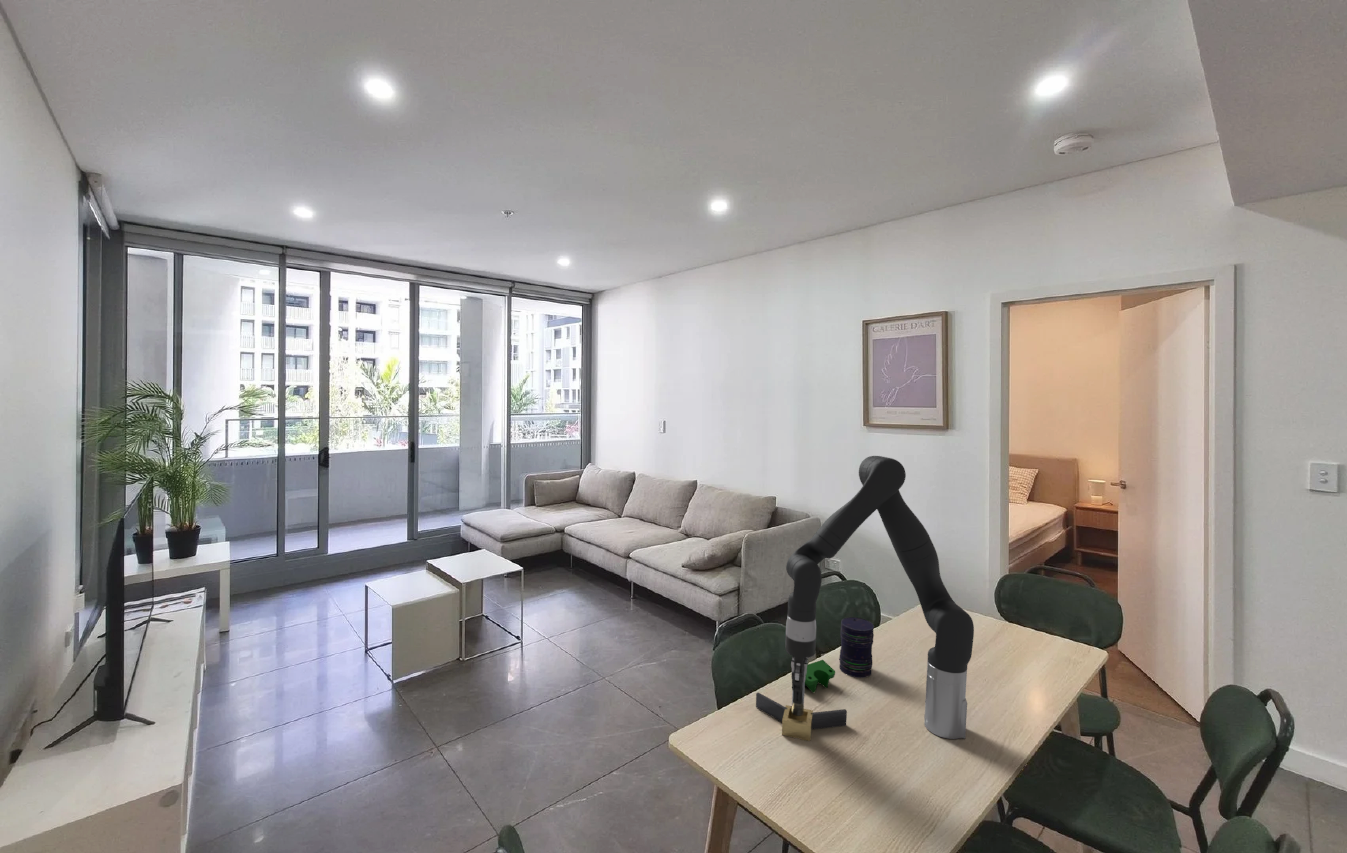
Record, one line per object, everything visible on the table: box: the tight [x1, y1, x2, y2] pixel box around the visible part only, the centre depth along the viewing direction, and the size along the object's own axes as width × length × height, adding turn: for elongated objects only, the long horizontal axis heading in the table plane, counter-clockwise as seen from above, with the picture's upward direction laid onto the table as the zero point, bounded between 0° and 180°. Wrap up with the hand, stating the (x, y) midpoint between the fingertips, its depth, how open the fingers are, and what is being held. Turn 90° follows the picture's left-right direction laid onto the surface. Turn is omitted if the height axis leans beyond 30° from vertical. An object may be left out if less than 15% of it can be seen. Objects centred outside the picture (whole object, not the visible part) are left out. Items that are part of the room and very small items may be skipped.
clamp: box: [805, 659, 836, 694], centre depth 163 cm, size 12×6×9 cm, turn 113°
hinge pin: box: [791, 681, 806, 716], centre depth 141 cm, size 3×3×10 cm
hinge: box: [755, 692, 848, 742], centre depth 143 cm, size 24×11×4 cm, turn 72°
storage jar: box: [838, 616, 875, 679], centre depth 173 cm, size 10×10×15 cm
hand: (798, 698), depth 141 cm, fingers closed on hinge pin, 3 cm apart
